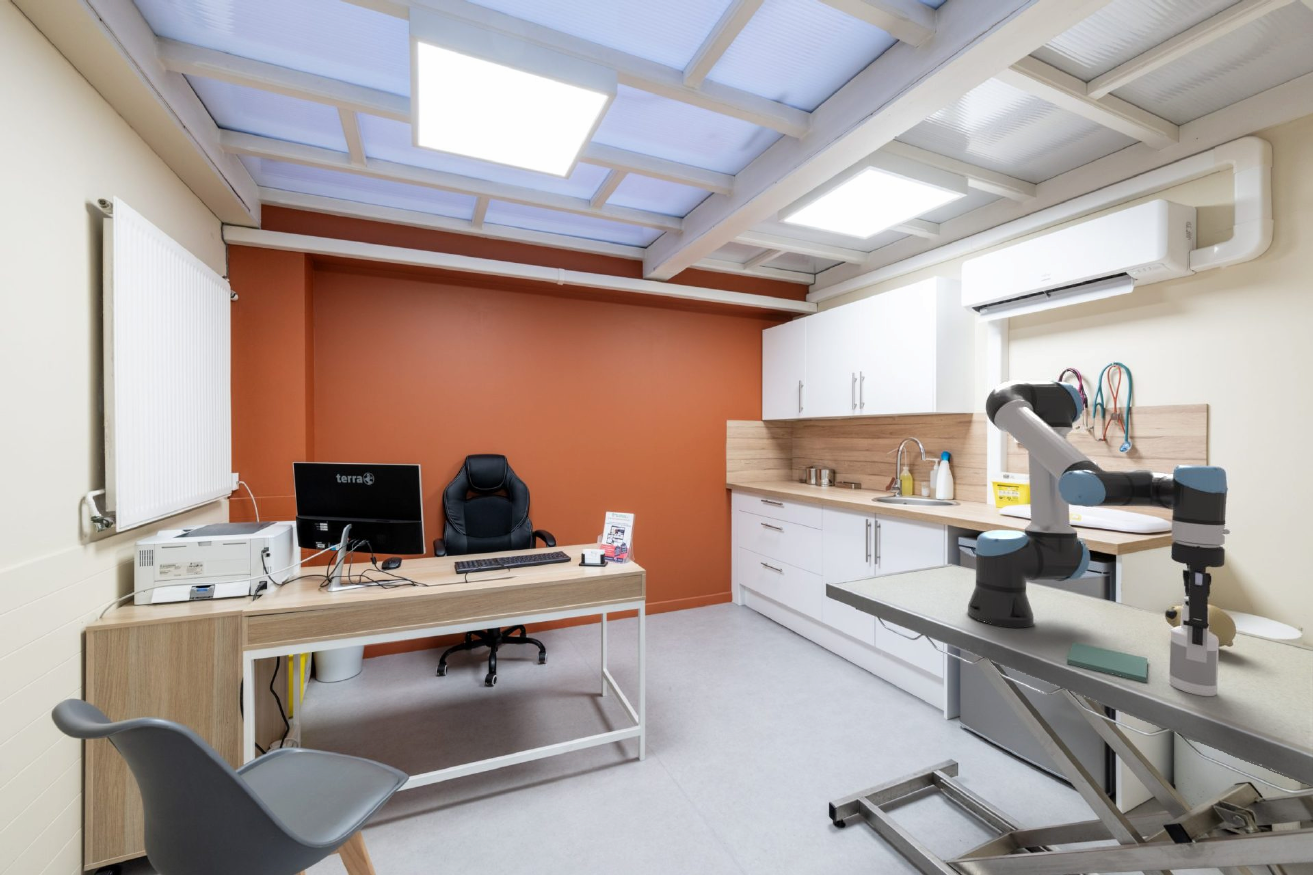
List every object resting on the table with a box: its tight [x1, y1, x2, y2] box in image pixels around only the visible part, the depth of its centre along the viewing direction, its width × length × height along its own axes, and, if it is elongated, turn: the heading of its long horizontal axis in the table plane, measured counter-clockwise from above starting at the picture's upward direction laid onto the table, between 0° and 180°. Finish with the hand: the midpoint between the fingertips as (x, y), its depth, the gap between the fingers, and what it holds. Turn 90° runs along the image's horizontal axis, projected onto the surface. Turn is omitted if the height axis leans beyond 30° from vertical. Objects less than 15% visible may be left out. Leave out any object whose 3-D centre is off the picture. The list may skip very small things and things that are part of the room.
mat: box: [1066, 642, 1148, 683], centre depth 121 cm, size 13×13×1 cm
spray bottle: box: [1168, 595, 1220, 697], centre depth 109 cm, size 7×7×18 cm
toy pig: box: [1164, 604, 1237, 648], centre depth 131 cm, size 10×12×11 cm
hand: (1194, 649), depth 109 cm, fingers open, 13 cm apart
